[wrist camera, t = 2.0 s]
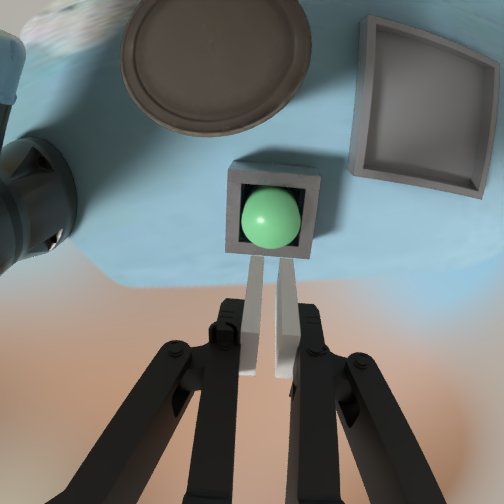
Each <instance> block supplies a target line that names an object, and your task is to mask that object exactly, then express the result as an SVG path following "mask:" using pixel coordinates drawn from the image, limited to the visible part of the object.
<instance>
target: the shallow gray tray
mask: <svg viewBox="0 0 504 504" xmlns="http://www.w3.org/2000/svg"><path fill="white" fill-rule="evenodd" d="M499 81H500V63H498V62H496V61H494V60H492V59H490V58H488V57H486V56H484V55H482V54H480V53H478V52H475V51H473V50H471V49H469V48H467V47H464V46H462V45H460V44H457V43H455V42H453V41H450V40H448V39H445V38H443V37H440V36H437V35H435V34H432V33H429V32H426V31H424V30H421V29H418V28H415V27H412V26H408V25H405V24H402V23H398V22H395V21H391V20H388V19H384V18H380V17H376V16H372V15H367V16H366V17H364V18H363V19H362V20H361V21H360V32H359V52H358V68H357V81H356V93H355V104H354V114H353V124H352V132H351V141H350V149H349V157H348V164H347V170H348V171H349V172H350V173H351V174H352V175H353V176H357V177H364V178H371V179H378V180H384V181H390V182H397V183H402V184H408V185H414V186H419V187H425V188H430V189H435V190H440V191H445V192H450V193H454V194H459V195H464V196H468V197H472V198H477V199H481V200H482V197H483V193H484V189H485V185H486V180H487V175H488V170H489V165H490V160H491V154H492V148H493V142H494V135H495V127H496V119H497V109H498V98H499Z"/></svg>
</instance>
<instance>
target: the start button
mask: <svg viewBox="0 0 504 504" xmlns="http://www.w3.org/2000/svg"><path fill="white" fill-rule="evenodd" d="M300 222H301V221H300V214H299V210H298V206H297V201H296V198H295V196H294V194H293V193H292V191H291V190H290V189H289V188H287V187H281V186H269V185H258V186H256V187H255V188H254V189H253V190H252V191H251V192H250V193H249V195H248V197H247V199H246V203H245V207H244V210H243V214H242V228H243V231H244V233H245V235H246V237H247V238H248V239H249V240H250V241H251V242H252V243H254V244H255V245H257V246H259V247H262V248H267V249H275V248H280V247H283V246H285V245H287V244H289V243H290V242H291V241H292V240H293V239H294V238H295V237H296V235H297V233H298V231H299V229H300Z"/></svg>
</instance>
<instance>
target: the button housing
mask: <svg viewBox="0 0 504 504" xmlns="http://www.w3.org/2000/svg"><path fill="white" fill-rule="evenodd" d="M320 183H321V176H320V174H319V173H318V171H317V170H316V168H314V167H305V166H295V165H284V164H272V163H260V162H245V161H233V162H232V164H231V165H230V167H229V168H228V180H227V209H226V244H225V252H226V253H238V254H250V255H263V256H275V257H288V258H300V259H310V252H311V246H312V240H313V233H314V226H315V219H316V212H317V205H318V198H319V190H320ZM244 184H257V185H269V186H281V187H292V188H301V190H300V199H299V208H298V210H299V214H300V221H301V222H300V229H299V231H298V233H297V235H296V237H295V238H294V239H293V240H292V241H291V242H290V243H289V244H287V245H285V246H283V247H280V248H275V249H267V248H262V247H259V246H257V245H255V244H254V243H252V242H251V241H250V240H249V239H248V238H247V237H246V235H245V233H244V231H243V228H242V214H243V201H244Z"/></svg>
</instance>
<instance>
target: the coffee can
mask: <svg viewBox="0 0 504 504" xmlns="http://www.w3.org/2000/svg"><path fill="white" fill-rule="evenodd" d="M311 48H312V43H311V32H310V27H309V24H308V20H307V17H306V15H305V13H304V11H303V9H302V7H301V5H300V4H299V2H298V1H297V0H142V1H141V2H140V4H139V5H138V6H137V8H136V9H135V11H134V12H133V14H132V15H131V17H130V19H129V21H128V23H127V25H126V28H125V31H124V34H123V37H122V41H121V47H120V66H121V73H122V77H123V81H124V83H125V86H126V88H127V90H128V93H129V94H130V96H131V98H132V99H133V101H134V102H135V103H136V105H137V106H138V107H139V108H140V109H141V110H142V111H143V112H144V113H145V114H146V115H147V116H148V117H149V118H150V119H152V120H153V121H155V122H156V123H158V124H159V125H161V126H163V127H165V128H167V129H169V130H172V131H175V132H178V133H181V134H184V135H189V136H196V137H220V136H227V135H232V134H237V133H240V132H243V131H246V130H248V129H251V128H253V127H256V126H257V125H259V124H261V123H263V122H265V121H267V120H268V119H270V118H271V117H273V116H274V115H275V114H277V113H278V112H279V111H280V110H281V109H283V108H284V107H285V106H286V105H287V104H288V102H289V101H290V100H291V99H292V97H293V96H294V95H295V94H296V92H297V91H298V89H299V88H300V86H301V84H302V82H303V80H304V78H305V76H306V73H307V70H308V67H309V63H310V58H311Z"/></svg>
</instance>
